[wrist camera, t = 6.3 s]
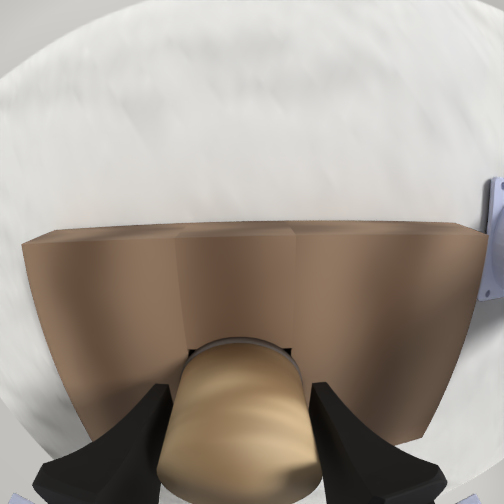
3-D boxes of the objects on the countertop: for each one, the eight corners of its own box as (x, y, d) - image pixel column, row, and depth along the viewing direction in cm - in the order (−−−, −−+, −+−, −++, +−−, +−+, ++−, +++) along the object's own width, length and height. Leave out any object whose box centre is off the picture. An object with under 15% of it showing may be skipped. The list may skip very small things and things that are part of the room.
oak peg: (296, 306, 14) (338, 433, 7) (290, 389, 16) (311, 508, 8) (184, 308, 14) (135, 432, 7) (195, 390, 16) (173, 508, 8)
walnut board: (454, 222, 14) (488, 235, 11) (406, 410, 18) (422, 437, 15) (54, 230, 13) (21, 244, 11) (109, 419, 17) (96, 448, 14)
